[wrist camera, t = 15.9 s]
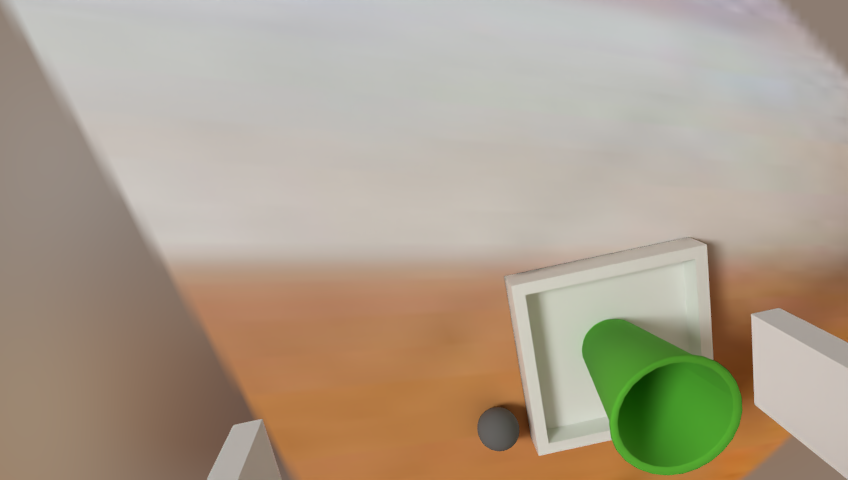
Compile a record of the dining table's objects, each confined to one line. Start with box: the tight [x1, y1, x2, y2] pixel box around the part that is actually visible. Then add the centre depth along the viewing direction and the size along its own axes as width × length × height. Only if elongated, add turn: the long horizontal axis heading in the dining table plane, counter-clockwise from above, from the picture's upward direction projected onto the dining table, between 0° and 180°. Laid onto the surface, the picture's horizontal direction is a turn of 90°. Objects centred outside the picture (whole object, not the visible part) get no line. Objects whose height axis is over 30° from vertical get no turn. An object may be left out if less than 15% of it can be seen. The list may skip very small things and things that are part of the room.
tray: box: [504, 237, 714, 456], centre depth 44 cm, size 16×16×2 cm
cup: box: [582, 319, 742, 475], centre depth 39 cm, size 9×9×11 cm
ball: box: [477, 407, 519, 451], centre depth 45 cm, size 4×4×4 cm
